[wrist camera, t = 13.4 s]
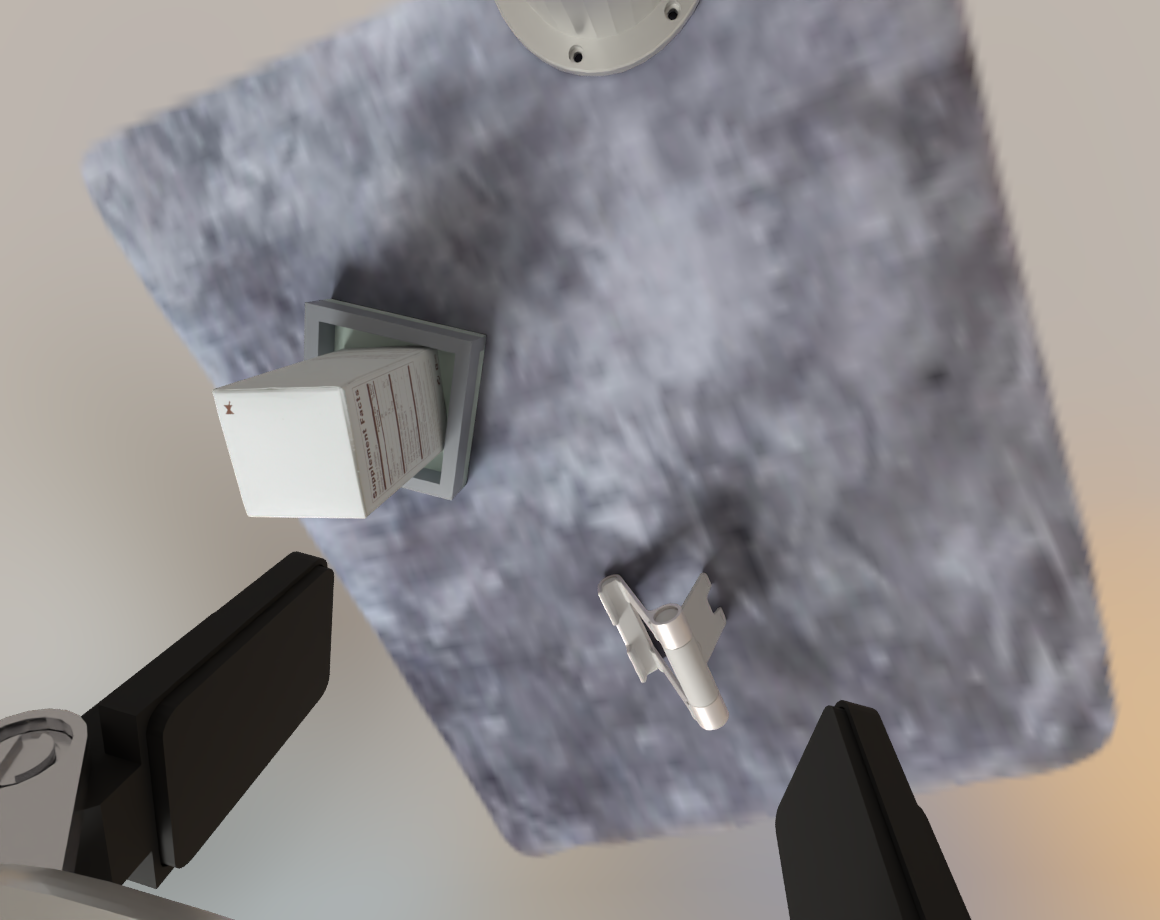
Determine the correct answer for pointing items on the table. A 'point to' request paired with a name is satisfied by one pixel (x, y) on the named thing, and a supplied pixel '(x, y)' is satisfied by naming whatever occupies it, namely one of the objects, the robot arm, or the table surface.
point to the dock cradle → (459, 368)
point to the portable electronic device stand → (672, 643)
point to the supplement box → (334, 430)
